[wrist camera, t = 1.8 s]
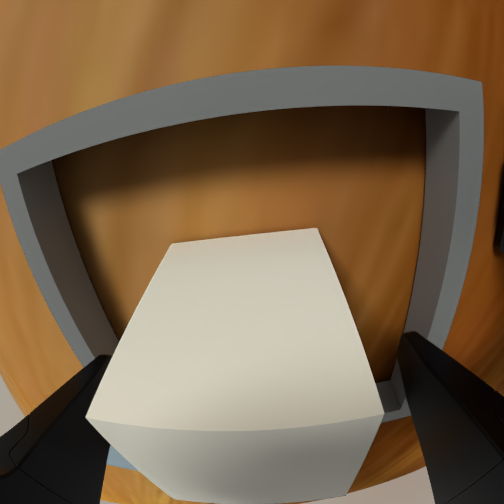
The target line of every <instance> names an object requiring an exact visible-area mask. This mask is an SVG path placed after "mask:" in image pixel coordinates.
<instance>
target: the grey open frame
mask: <svg viewBox="0 0 504 504" xmlns="http://www.w3.org/2000/svg"><path fill="white" fill-rule="evenodd" d="M347 105H373V106H403V107H419V108H425V115H426V180H425V198H424V211H423V222H422V231H421V240H420V248H419V255H418V262H417V268H416V274H415V280H414V286H413V291H412V296H411V301H410V306H409V311H408V315H407V320H406V324H405V328H404V333H405V332H410V331H416V332H418V333H419V334H420V335H422V336H423V337H425V338H426V339H427V340H429V341H430V342H431V343H433V344H434V345H436V346H437V347H438V348H440V349H441V350H442V349H443V346H444V344H445V341H446V338H447V336H448V333H449V330H450V327H451V324H452V321H453V318H454V315H455V312H456V308H457V305H458V302H459V298H460V295H461V291H462V287H463V284H464V280H465V276H466V272H467V268H468V263H469V259H470V254H471V249H472V245H473V239H474V234H475V228H476V222H477V215H478V208H479V200H480V192H481V182H482V169H483V150H484V109H483V91H482V82H480V81H475V80H471V79H466V78H461V77H456V76H451V75H445V74H439V73H432V72H425V71H417V70H408V69H398V68H386V67H370V66H303V67H286V68H274V69H263V70H254V71H246V72H238V73H231V74H225V75H219V76H213V77H207V78H202V79H197V80H192V81H187V82H182V83H178V84H173V85H169V86H165V87H161V88H157V89H153V90H149V91H145V92H142V93H138V94H135V95H131V96H128V97H125V98H122V99H118V100H115V101H112V102H109V103H106V104H103V105H100V106H97V107H95V108H92V109H89V110H86V111H84V112H81V113H78V114H76V115H73V116H71V117H68V118H66V119H63V120H61V121H59V122H56V123H54V124H52V125H49V126H47V127H45V128H43V129H41V130H38V131H36V132H34V133H32V134H30V135H28V136H26V137H24V138H22V139H20V140H18V141H16V142H14V143H12V144H10V145H8V146H7V147H5V148H3V149H1V150H0V183H1V186H2V190H3V194H4V197H5V201H6V204H7V207H8V210H9V213H10V216H11V219H12V222H13V225H14V228H15V231H16V234H17V237H18V239H19V242H20V245H21V247H22V250H23V252H24V255H25V257H26V260H27V262H28V264H29V267H30V269H31V271H32V274H33V276H34V278H35V280H36V282H37V285H38V287H39V289H40V291H41V293H42V295H43V297H44V299H45V301H46V303H47V305H48V307H49V309H50V311H51V313H52V315H53V317H54V318H55V320H56V322H57V324H58V326H59V327H60V329H61V331H62V333H63V335H64V336H65V338H66V340H67V341H68V343H69V345H70V346H71V348H72V350H73V351H74V353H75V355H76V356H77V358H78V359H79V361H80V362H81V364H82V366H83V367H85V366H86V365H88V364H89V363H90V362H91V361H92V360H94V359H95V358H96V357H97V356H99V355H100V354H109V355H112V356H113V354H114V352H115V350H116V348H117V346H118V344H119V341H118V339H117V337H116V335H115V333H114V331H113V329H112V327H111V325H110V323H109V321H108V319H107V317H106V315H105V313H104V311H103V309H102V306H101V304H100V302H99V300H98V297H97V295H96V293H95V291H94V288H93V286H92V283H91V281H90V279H89V276H88V274H87V271H86V269H85V266H84V264H83V261H82V258H81V256H80V253H79V250H78V248H77V245H76V242H75V239H74V236H73V234H72V231H71V228H70V225H69V222H68V219H67V215H66V212H65V209H64V206H63V202H62V199H61V195H60V192H59V188H58V185H57V181H56V177H55V173H54V169H53V165H52V161H51V160H53V159H56V158H58V157H61V156H64V155H67V154H70V153H73V152H76V151H79V150H82V149H85V148H88V147H91V146H94V145H97V144H101V143H104V142H108V141H111V140H114V139H118V138H122V137H125V136H129V135H133V134H137V133H141V132H145V131H149V130H153V129H158V128H162V127H167V126H171V125H176V124H181V123H186V122H191V121H196V120H202V119H208V118H214V117H220V116H227V115H233V114H241V113H248V112H257V111H266V110H275V109H287V108H300V107H317V106H347ZM375 384H376V387H377V391H378V394H379V397H380V400H381V404H382V407H383V410H384V416H383V418H382V421H381V423H383V422H387V421H391V420H396V419H399V418H403V417H407V416H411V413H410V409H409V406H408V403H407V400H406V395H405V391H404V386H403V381H402V377H401V372H400V368H399V364H398V360H397V359H396V363H395V366H394V369H393V373H392V376H391V379H390V380H389V381H384V382H379V383H375Z"/></svg>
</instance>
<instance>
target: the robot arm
mask: <svg viewBox="0 0 504 504" xmlns="http://www.w3.org/2000/svg"><path fill="white" fill-rule="evenodd" d="M495 246H496V248H497V249H498V250H499V251H501V252H502V253H504V189H503V197H502V205H501V211H500V217H499V223H498V228H497V234H496V239H495ZM111 358H112V355H109V354H100V355H99V356H97V357H96V358H95V359H94V360H92V361H91V362H90V363H89V364H88V365H86V366H85V367H84V368H83V369H82V370H80V371H79V372H78V373H77V374H76V375H74V376H73V377H72V378H71V379H70V380H69V381H67V382H66V383H65V384H64V385H63V386H61V387H60V388H59V389H58V390H57V391H55V392H54V393H53V394H52V395H51V396H50V397H48V398H47V399H46V400H45V401H44V402H43V403H41V404H40V405H39V406H38V407H37V408H35V409H34V410H33V411H32V412H31V413H30V415H27V416H26V417H25V418H24V419H23V420H21V422H19V423H18V424H17V425H15V426H14V427H13V428H12V429H11V430H9V431H8V432H7V433H5V434H4V435H2V436H1V437H0V504H100V498H101V491H102V486H103V480H104V474H105V469H106V464H107V459H108V454H109V449H110V443H109V442H108V441H107V440H106V439H105V438H104V437H103V436H102V435H101V434H100V433H99V432H98V431H97V430H96V429H95V428H94V427H93V425H92V424H91V423H90V422H89V421H88V420H87V419H86V418H85V417H86V415H87V412H88V410H89V408H90V405H91V403H92V401H93V398H94V396H95V394H96V391H97V389H98V387H99V385H100V382H101V380H102V378H103V376H104V373H105V371H106V369H107V367H108V365H109V363H110V360H111ZM397 360H398V364H399V368H400V372H401V377H402V381H403V386H404V391H405V395H406V400H407V403H408V406H409V409H410V413H411V416H412V419H413V422H414V425H415V428H416V432H417V435H418V438H419V442H420V445H421V449H422V452H423V456H424V460H425V463H426V467H427V471H428V475H429V479H430V483H431V487H432V491H433V496H434V500H435V504H504V397H503V396H502V395H501V394H500V393H498V392H497V391H495V390H494V389H493V388H492V387H490V386H489V385H488V384H486V383H485V382H484V381H482V380H481V379H480V378H479V377H477V376H476V375H475V374H473V373H472V372H471V371H469V370H468V369H467V368H465V367H464V366H463V365H461V364H460V363H459V362H457V361H456V360H455V359H453V358H452V357H451V356H449V355H448V354H446V353H445V352H444V351H442V350H441V349H440V348H438V347H437V346H436V345H434V344H433V343H431V342H430V341H429V340H427V339H426V338H425V337H423V336H422V335H420V334H419V333H418V332H416V331H410V332H405V333H403V334H402V335H401V339H400V343H399V346H398V350H397Z"/></svg>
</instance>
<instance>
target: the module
mask: <svg viewBox="0 0 504 504" xmlns="http://www.w3.org/2000/svg"><path fill="white" fill-rule="evenodd" d="M383 416H384V410H383V407H382V404H381V400H380V397H379V394H378V391H377V387H376V384H375V381H374V378H373V375H372V372H371V369H370V366H369V363H368V360H367V357H366V354H365V351H364V348H363V345H362V342H361V339H360V337H359V334H358V331H357V328H356V325H355V323H354V320H353V317H352V314H351V312H350V309H349V306H348V304H347V301H346V298H345V296H344V293H343V291H342V288H341V285H340V283H339V280H338V278H337V275H336V273H335V270H334V268H333V265H332V263H331V260H330V258H329V255H328V253H327V251H326V248H325V246H324V243H323V241H322V239H321V236H320V234H319V232H318V229H317V228H310V229H300V230H291V231H281V232H271V233H262V234H252V235H243V236H234V237H225V238H216V239H207V240H199V241H190V242H181V243H173V244H171V245H170V247H169V249H168V251H167V252H166V254H165V256H164V258H163V260H162V261H161V263H160V265H159V267H158V269H157V270H156V272H155V274H154V276H153V278H152V280H151V281H150V283H149V285H148V287H147V289H146V291H145V293H144V294H143V296H142V298H141V300H140V302H139V304H138V306H137V308H136V310H135V312H134V314H133V316H132V318H131V320H130V322H129V323H128V325H127V327H126V329H125V331H124V334H123V336H122V338H121V340H120V342H119V344H118V346H117V348H116V350H115V352H114V354H113V356H112V358H111V360H110V363H109V365H108V367H107V369H106V371H105V373H104V376H103V378H102V380H101V382H100V385H99V387H98V389H97V391H96V394H95V396H94V398H93V401H92V403H91V405H90V408H89V410H88V412H87V415H86V417H85V418H86V419H87V420H88V421H89V422H90V423H91V424H92V425H93V427H94V428H95V429H96V430H97V431H98V432H99V433H100V434H101V435H102V436H103V437H104V438H105V439H106V440H107V441H108V442H109V443H110V444H111V445H112V446H113V447H114V448H115V449H116V450H117V451H118V452H119V453H120V454H121V455H122V456H123V457H124V458H125V459H126V460H127V461H128V462H129V463H131V464H132V465H133V466H134V467H135V468H136V469H137V470H138V471H140V472H141V473H142V474H143V475H144V476H145V477H147V478H148V479H149V480H150V481H151V482H153V483H154V484H155V485H156V486H157V487H159V488H160V489H161V490H162V491H164V492H165V493H166V494H168V495H169V496H170V497H172V498H173V499H177V500H185V501H194V502H206V503H222V504H275V503H291V502H302V501H312V500H320V499H327V498H334V497H340V496H346V494H347V492H348V491H349V489H350V487H351V485H352V483H353V481H354V479H355V477H356V476H357V474H358V472H359V470H360V468H361V466H362V464H363V461H364V459H365V457H366V455H367V453H368V451H369V449H370V447H371V444H372V442H373V440H374V438H375V435H376V433H377V431H378V428H379V426H380V423H381V421H382V418H383Z"/></svg>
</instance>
